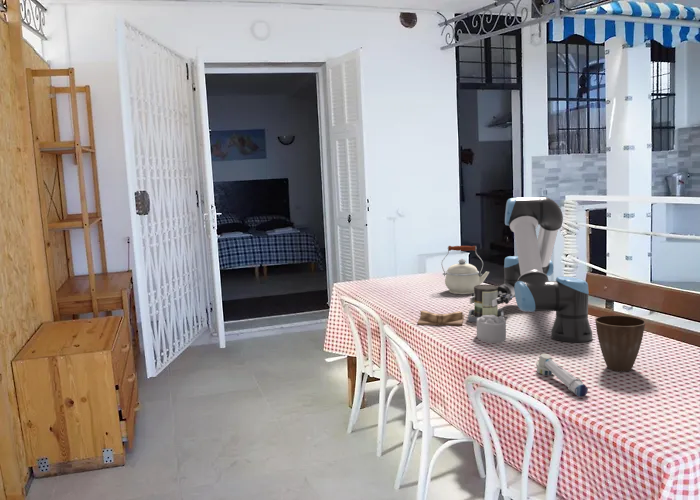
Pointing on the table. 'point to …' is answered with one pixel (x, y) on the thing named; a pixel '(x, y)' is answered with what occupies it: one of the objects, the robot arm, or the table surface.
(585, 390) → the toothbrush head
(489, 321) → the lumpy-topped squat cylinder
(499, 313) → the gray square tray
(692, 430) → the table surface
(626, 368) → the plant pot
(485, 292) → the coffee can
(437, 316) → the brown flat cloth piece
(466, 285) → the kettle
